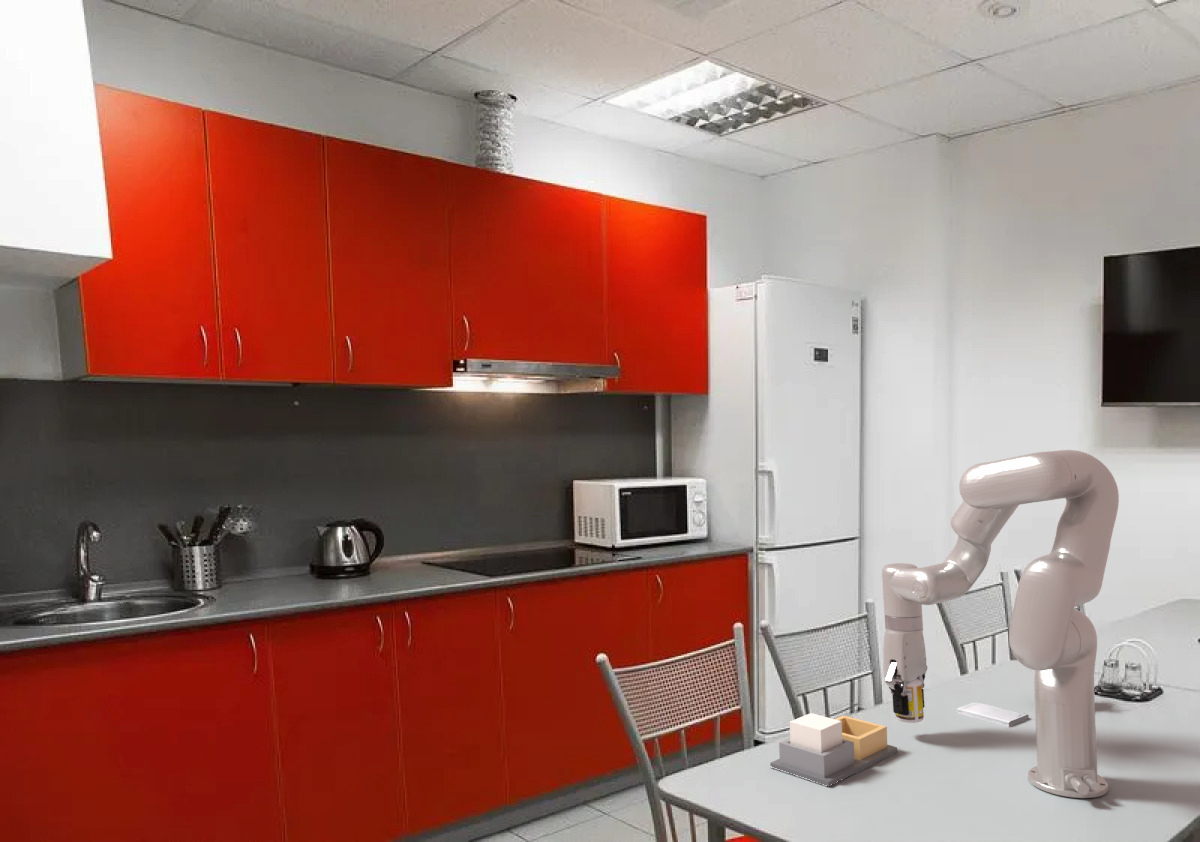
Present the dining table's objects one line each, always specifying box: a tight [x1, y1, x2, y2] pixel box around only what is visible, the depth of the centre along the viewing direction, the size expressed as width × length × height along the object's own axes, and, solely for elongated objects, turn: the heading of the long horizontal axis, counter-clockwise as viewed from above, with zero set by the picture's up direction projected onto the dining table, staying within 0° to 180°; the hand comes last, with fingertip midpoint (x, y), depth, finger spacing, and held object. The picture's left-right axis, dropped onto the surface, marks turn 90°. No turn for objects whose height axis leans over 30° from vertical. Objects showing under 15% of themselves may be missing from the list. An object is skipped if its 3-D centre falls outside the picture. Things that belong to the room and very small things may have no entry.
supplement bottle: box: [895, 676, 925, 724], centre depth 180 cm, size 6×6×10 cm
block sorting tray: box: [770, 712, 898, 787], centre depth 169 cm, size 24×13×9 cm, turn 132°
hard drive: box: [955, 701, 1030, 728], centre depth 192 cm, size 2×8×12 cm
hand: (909, 709), depth 180 cm, fingers closed on supplement bottle, 5 cm apart
